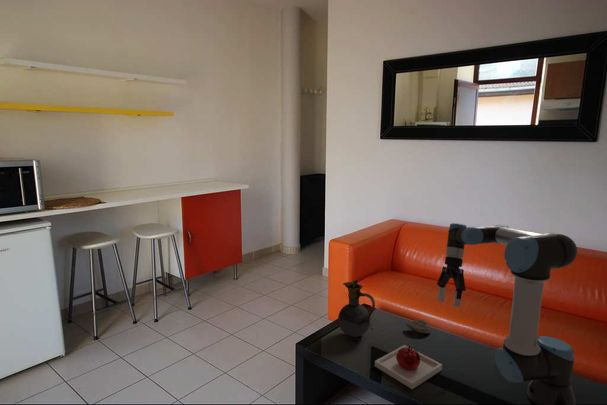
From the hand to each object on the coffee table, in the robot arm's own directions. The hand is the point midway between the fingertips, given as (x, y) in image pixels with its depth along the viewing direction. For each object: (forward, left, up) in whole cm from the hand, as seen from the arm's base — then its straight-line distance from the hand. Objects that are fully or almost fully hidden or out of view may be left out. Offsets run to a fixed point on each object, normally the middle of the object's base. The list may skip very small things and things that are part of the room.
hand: (448, 303), depth 175 cm
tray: (+2, +25, -23) cm, 34 cm away
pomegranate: (+2, +25, -22) cm, 33 cm away
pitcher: (+34, +24, -23) cm, 48 cm away
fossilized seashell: (+19, -4, -23) cm, 30 cm away
